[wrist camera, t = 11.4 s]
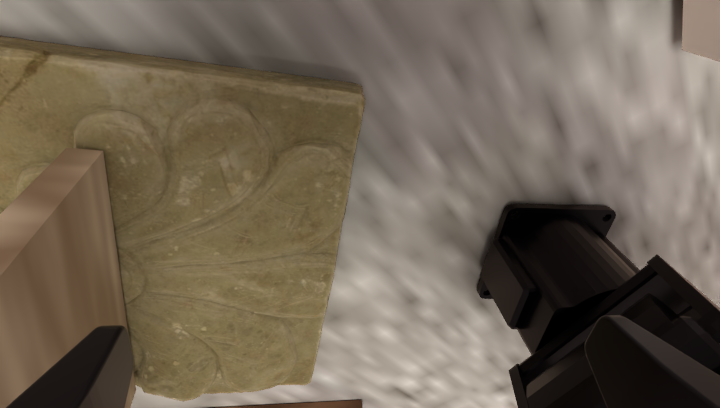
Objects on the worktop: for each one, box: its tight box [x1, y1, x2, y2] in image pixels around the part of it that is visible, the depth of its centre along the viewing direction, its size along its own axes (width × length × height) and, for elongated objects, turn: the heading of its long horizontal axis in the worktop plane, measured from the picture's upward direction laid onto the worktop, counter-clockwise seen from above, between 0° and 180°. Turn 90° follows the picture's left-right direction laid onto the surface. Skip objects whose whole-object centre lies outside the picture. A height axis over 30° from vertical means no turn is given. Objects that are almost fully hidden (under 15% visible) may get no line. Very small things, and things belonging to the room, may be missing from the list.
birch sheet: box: [0, 148, 136, 408], centre depth 15 cm, size 1×14×10 cm, turn 170°
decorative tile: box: [0, 36, 365, 401], centre depth 21 cm, size 19×20×4 cm
